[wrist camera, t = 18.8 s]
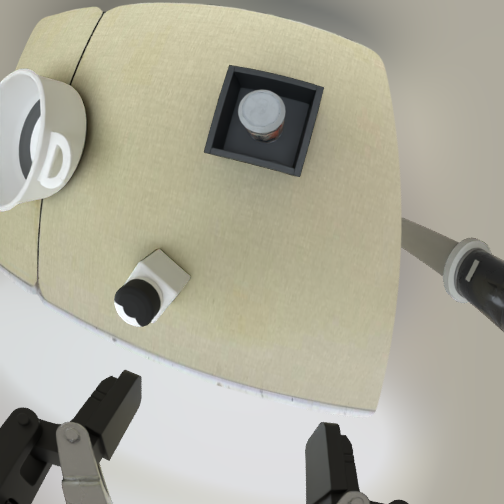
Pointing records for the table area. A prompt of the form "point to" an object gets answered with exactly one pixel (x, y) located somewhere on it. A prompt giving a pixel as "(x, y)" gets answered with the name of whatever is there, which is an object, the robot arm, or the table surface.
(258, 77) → the bin
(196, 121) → the table surface
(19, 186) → the pot
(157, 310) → the medicine bottle
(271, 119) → the beer can
